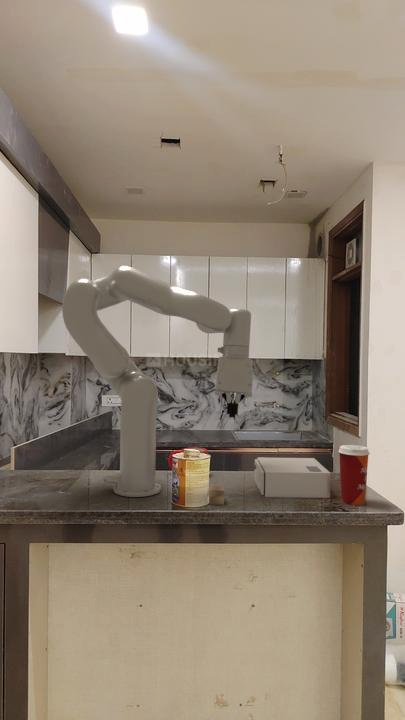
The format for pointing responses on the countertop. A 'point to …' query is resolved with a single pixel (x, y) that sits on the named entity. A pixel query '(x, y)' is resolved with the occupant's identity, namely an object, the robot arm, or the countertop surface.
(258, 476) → the drawer
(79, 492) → the countertop surface
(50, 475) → the countertop surface
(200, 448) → the mug
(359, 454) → the paper cup
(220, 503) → the brown wooden cube
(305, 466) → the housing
